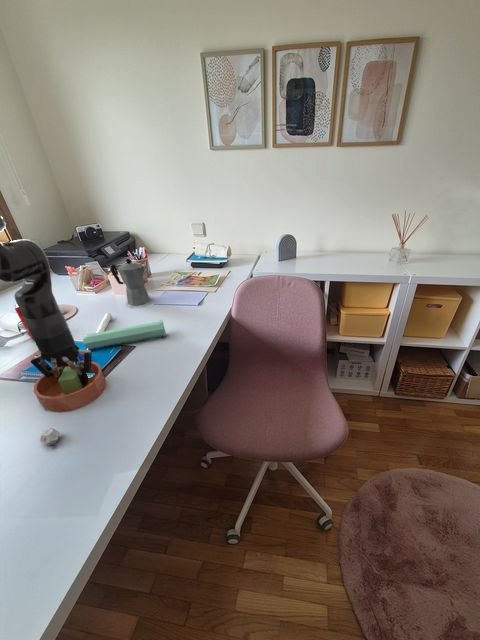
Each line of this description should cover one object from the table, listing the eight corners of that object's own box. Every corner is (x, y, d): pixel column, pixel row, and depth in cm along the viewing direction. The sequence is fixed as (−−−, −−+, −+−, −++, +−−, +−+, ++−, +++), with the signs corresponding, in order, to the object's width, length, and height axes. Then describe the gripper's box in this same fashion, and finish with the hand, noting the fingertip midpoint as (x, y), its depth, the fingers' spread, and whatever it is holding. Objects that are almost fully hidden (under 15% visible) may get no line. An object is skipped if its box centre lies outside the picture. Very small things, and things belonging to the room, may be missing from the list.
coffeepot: (158, 297, 131) (148, 255, 121) (148, 306, 123) (137, 263, 113) (125, 295, 133) (113, 254, 123) (113, 305, 125) (100, 262, 115)
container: (78, 335, 92) (161, 320, 99) (83, 333, 98) (162, 319, 104) (83, 353, 94) (165, 337, 100) (88, 350, 99) (166, 335, 106)
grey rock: (65, 434, 68) (59, 425, 66) (56, 447, 64) (50, 438, 63) (49, 434, 68) (43, 425, 66) (39, 448, 64) (33, 439, 63)
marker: (107, 316, 116) (105, 310, 115) (113, 315, 117) (111, 310, 115) (95, 339, 102) (92, 333, 100) (101, 339, 102) (99, 333, 101)
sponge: (64, 394, 78) (57, 380, 75) (71, 379, 83) (65, 366, 80) (81, 391, 79) (74, 378, 76) (87, 377, 84) (81, 364, 81)
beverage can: (27, 336, 104) (10, 305, 98) (43, 330, 108) (28, 299, 101) (34, 341, 102) (17, 308, 95) (50, 334, 105) (35, 303, 99)
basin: (31, 416, 72) (22, 403, 70) (53, 377, 85) (46, 365, 82) (99, 406, 75) (93, 392, 72) (111, 369, 87) (106, 357, 85)
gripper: (86, 319, 75) (106, 373, 85) (23, 325, 73) (51, 380, 82) (77, 333, 69) (101, 390, 79) (8, 341, 67) (41, 398, 76)
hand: (75, 384), depth 81 cm, fingers closed on sponge, 4 cm apart
